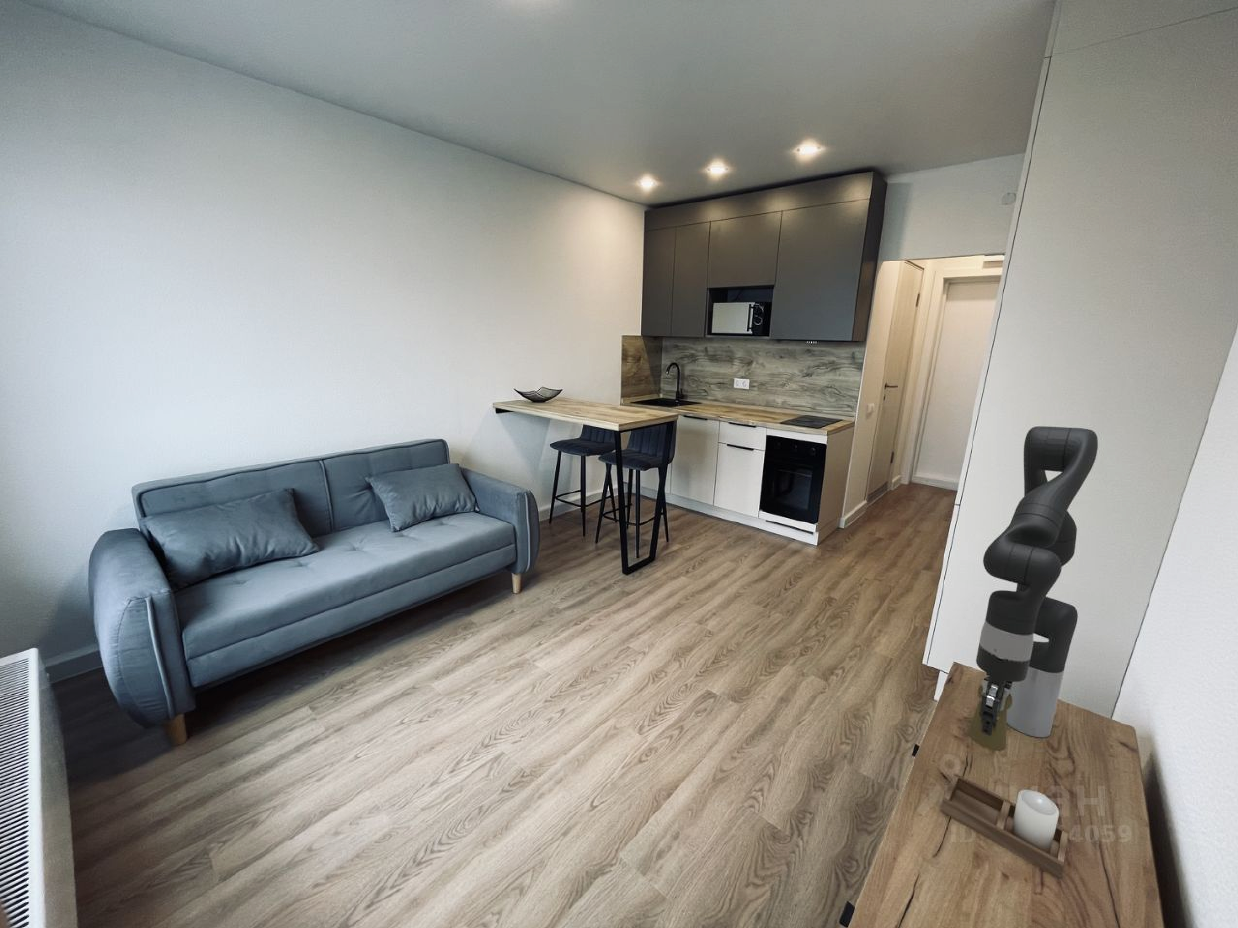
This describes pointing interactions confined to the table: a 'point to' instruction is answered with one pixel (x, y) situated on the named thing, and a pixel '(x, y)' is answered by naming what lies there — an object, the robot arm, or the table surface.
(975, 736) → the pepper shaker
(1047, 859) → the caddy
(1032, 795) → the salt shaker
